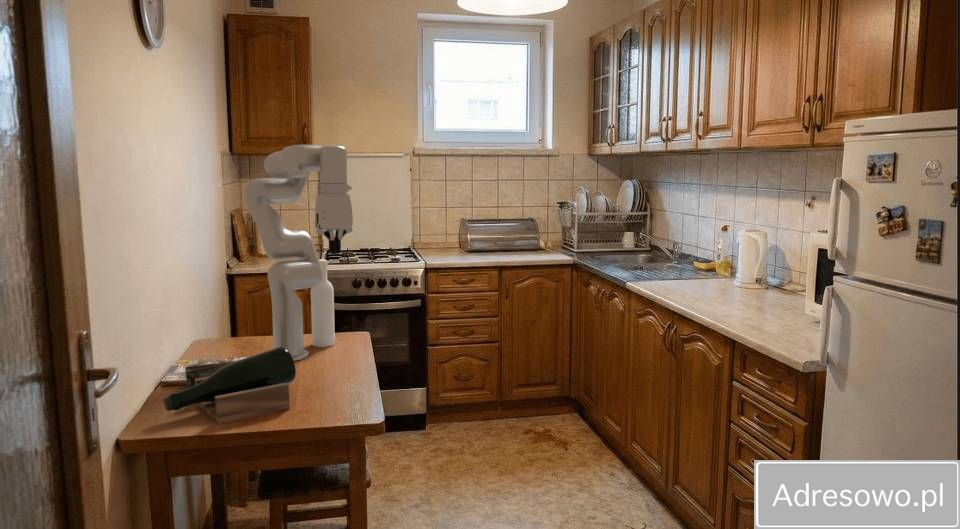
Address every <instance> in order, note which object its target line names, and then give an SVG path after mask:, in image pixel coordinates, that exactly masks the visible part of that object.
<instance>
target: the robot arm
mask: <svg viewBox="0 0 960 529" xmlns="http://www.w3.org/2000/svg"><path fill="white" fill-rule="evenodd" d="M347 154H348V153H347V149H346V148H345V147H344V146H343V145H328V144H327V145H325V144H322V145H321V144H295V145H294V144H293V145H290V146H285V147H284V148H282V150H279V151H275V152H272V153H270V154H269V155H267V157H266V158H265V160H264V161H263V167H264V170H265V172H266V174H268V175H269V176H270V177H263V178H261V177H259V178H255V179H252V180H250V181H249V182H247V183H246V186H245V188H244V199H245V200H244V201H245V204H246V207H247V209H248V212H249V214H250V215H251V217H252V219H253V220H254V222H255V223H256V224H255V225H256V227H257V230H258V233H259V237H260V241H261V244H262V247H263V250H264V253H265V255H266V257H267V258H268V259H269V260H271V261H278V262H276V263H273V264H272V265H271V266H270V267H269V268H268V270H267V280H268V285H269V286H268V287H269V289H270V290H269V291H270V296H271V311H272V312H271V313H272V314H271V315H272V337H273V339H272V340H273V344H272V345H273V349H274V348H278V347H284V348H286V349H287V350H288V351H289V352H290V354H291V355H292V357H293V360H294V362H295V361H300V360H304V359H306V358H308V357H309V356H310V355H309V354H310V353H309V351H308V350H307V349H305V344H304V317H303V316H304V315H303V302H302V300H301V298H300V297H299V296H298V294H297V293H296V290H297V291H298V290H303V289H304V290H305V289H309V288H310V289H311V288H312V287H316V286H318V285H319V284H320V283H321V281H322V277H323V275H322V269H321V265H320V262H319V260H320V258H319V256H318V253H317V249H316V246H315V243H314V240H313V238H312V237H311V235H310V234H309V233H308V232H307V231H305V230H301V229H296V230H295V229H293V230H292V229H291V230H288V229H287V228H286V226H285V221H284V219H283V217H282V216H281V214H280V213H279V212H278V211H277V210H276V209H275V208H273V207H272V206H271V205H275V204H276V205H278V204H279V205H281V204H293V203H296V202H297V201H299V199H300V198H301V196H302V194H303V192H304V191H305V187H306V185H307V183H308V180H309V178H310V175H311V172H319V185H320V186H319V187H320V188H319V189H320V191H319V193H320V194H317V196H316V201H315V208H314V209H315V210H314V227H315V229H316V230H315V233H316V234H318V235H323V236H325V238H326V239H327V240H328V251H329V252H330V254H332V255H340V252H341V250H342V244H341V242H342V240H343V238H344V236H345V235H346V234H350V233H352V232H353V231H354V230H353V223H354V218H353V217H354V216H353V209H352V208H353V207H352V201H351V197H350V194H348V193H349V191H351V190H352V185H349V183H348V155H347ZM334 230H335V232H334Z"/></svg>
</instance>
